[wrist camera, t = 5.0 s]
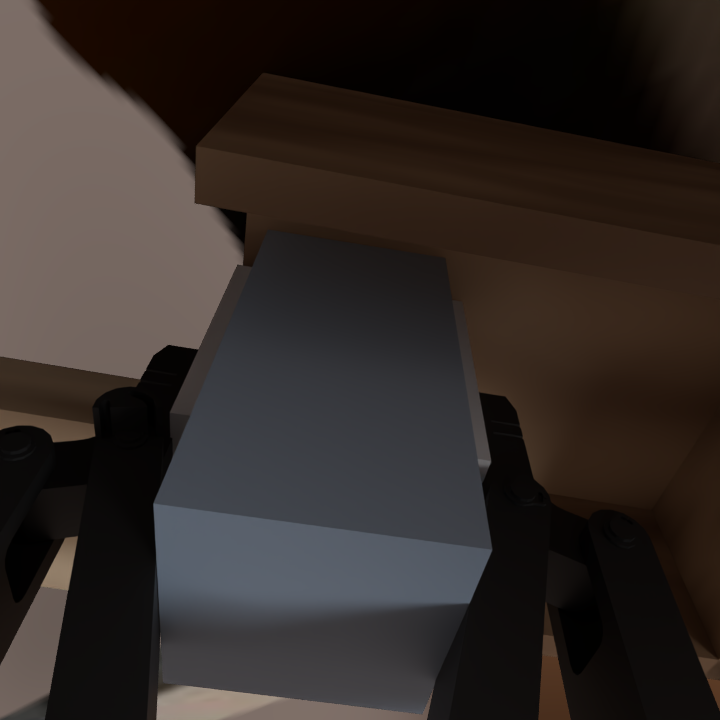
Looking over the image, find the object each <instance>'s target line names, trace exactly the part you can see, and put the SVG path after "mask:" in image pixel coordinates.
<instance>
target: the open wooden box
mask: <svg viewBox="0 0 720 720" xmlns="http://www.w3.org/2000/svg"><path fill="white" fill-rule="evenodd" d="M195 203H196V204H202V205H207V206H213V207H218V208H224V209H229V210H234V211H240V212H245V213H247V221H246V234H245V247H244V260H243V266H248V267H252V266H253V264H254V262H255V259H256V257H257V254H258V252H259V250H260V247H261V245H262V242H263V240H264V238H265V235H266V233H267V230H274V231H280V232H286V233H292V234H299V235H305V236H311V237H317V238H324V239H330V240H336V241H342V242H349V243H355V244H361V245H367V246H374V247H380V248H386V249H392V250H399V251H405V252H411V253H417V254H424V255H430V256H436V257H442V258H445V259H446V265H447V271H448V278H449V284H450V290H451V296H452V300H455V301H461V302H462V303H463V308H464V314H465V319H466V325H467V330H468V336H469V341H470V347H471V352H472V358H473V363H474V369H475V374H476V380H477V385H478V391H479V392H480V393H487V394H493V395H499V396H506V398H507V399H508V400H509V402H510V403H511V404H512V405H513V407H514V408H515V409H516V411H517V415H518V419H519V422H520V428H521V430H522V434H523V439H524V442H525V446H526V450H527V454H528V458H529V462H530V466H531V470H532V474H533V478H534V480H536V481H537V482H538V483H539V484H540V485H542V486H543V487H544V488H545V490H546V491H547V493H548V494H549V496H550V500H551V502H552V503H553V504H554V505H556V506H557V507H559V508H562V509H564V510H566V511H568V512H570V513H573V514H575V515H578V516H580V517H583V518H585V519H588V520H589V518H590V516H591V515H592V513H594V512H596V511H598V510H614V511H618V512H621V513H624V514H625V515H627V516H629V517H631V518H632V519H634V520H635V521H637V522H638V523H639V524H640V525H641V526H642V527H643V528H644V529H645V531H646V532H647V534H648V535H649V537H650V539H651V541H652V544H653V546H654V549H655V551H656V554H657V556H658V559H659V561H660V564H661V566H662V569H663V571H664V574H665V576H666V579H667V581H668V584H669V586H670V588H671V591H672V593H673V596H674V598H675V601H676V603H677V606H678V608H679V611H680V613H681V616H682V618H683V621H684V623H685V626H686V628H687V631H688V633H689V636H690V638H691V641H692V643H693V646H694V648H695V651H696V653H697V656H698V658H699V661H700V663H701V666H702V668H703V671H704V673H705V676H706V678H708V679H715V680H720V163H716V162H711V161H706V160H701V159H696V158H691V157H685V156H680V155H675V154H670V153H665V152H660V151H655V150H650V149H645V148H640V147H635V146H630V145H625V144H620V143H615V142H610V141H605V140H600V139H595V138H590V137H585V136H580V135H575V134H570V133H565V132H560V131H555V130H550V129H545V128H540V127H535V126H530V125H525V124H519V123H514V122H509V121H504V120H499V119H494V118H489V117H484V116H479V115H474V114H469V113H464V112H459V111H454V110H449V109H444V108H439V107H434V106H429V105H424V104H419V103H414V102H409V101H404V100H399V99H394V98H389V97H384V96H379V95H374V94H369V93H364V92H359V91H353V90H348V89H343V88H338V87H333V86H328V85H323V84H318V83H313V82H308V81H303V80H298V79H293V78H288V77H283V76H278V75H273V74H268V73H262V74H261V75H260V76H259V78H258V79H257V80H256V81H255V82H254V83H253V84H252V85H251V86H250V87H249V88H248V90H247V91H246V92H245V93H244V94H243V95H242V96H241V97H240V98H239V99H238V101H237V102H236V103H235V104H234V105H233V106H232V107H231V108H230V109H229V110H228V112H227V113H226V114H225V115H224V116H223V117H222V118H221V119H220V120H219V121H218V123H217V124H216V125H215V126H214V127H213V128H212V129H211V130H210V131H209V132H208V133H207V135H206V136H205V137H204V138H203V139H202V140H201V141H200V142H199V143H198V144H197V146H196V171H195ZM542 655H545V656H552V657H558V656H557V651H556V646H555V641H554V636H553V632H552V627H551V622H550V617H549V612H548V608H547V602H545V618H544V634H543V650H542Z"/></svg>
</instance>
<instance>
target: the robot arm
mask: <svg viewBox="0 0 720 720" xmlns="http://www.w3.org/2000/svg"><path fill="white" fill-rule="evenodd" d="M251 269H252V267H248V266H242V265H237V267H236V269H235V271H234V273H233V276H232V278H231V280H230V282H229V284H228V287H227V289H226V291H225V293H224V295H223V298H222V300H221V302H220V304H219V306H218V308H217V311H216V313H215V315H214V317H213V319H212V322H211V324H210V326H209V328H208V330H207V333H206V335H205V337H204V339H203V341H202V344H201V346H200V348H199V350H197V349H191V348H184V347H178V346H172V345H168V346H166V347H165V348H163V349H162V350H161V351H159V352H158V353H156V354H155V355H154V356H153V358H152V359H151V361H150V363H149V365H148V367H147V369H146V371H145V372H144V374H143V376H142V377H141V379H140V382H139V383H138V385H137V386H136V387H131V386H130V387H121V388H116V389H113V390H110V391H108V392H105V393H104V394H103V395H101V396H100V397H99V398H97V399H96V401H95V403H94V405H93V407H92V412H93V421H94V429H95V436H94V437H91V438H88V439H82V440H75V441H63V442H53V440H52V437H51V435H50V434H49V433H48V432H46V431H45V430H44V429H42V428H38V427H35V426H30V425H17V426H13V427H9V428H4V429H2V430H0V664H1V662H2V661H3V659H4V657H5V655H6V653H7V651H8V649H9V647H10V645H11V643H12V641H13V639H14V637H15V635H16V633H17V631H18V629H19V627H20V625H21V624H22V621H23V620H24V618H25V616H26V614H27V612H28V610H29V608H30V606H31V604H32V602H33V600H34V598H35V596H36V594H37V592H38V590H39V589H40V587H41V585H42V583H43V581H44V579H45V577H46V575H47V573H48V571H49V569H50V567H51V565H52V563H53V561H54V559H55V557H56V555H57V554H58V552H59V550H60V548H61V546H62V544H63V542H64V540H65V538H68V537H76V536H78V539H77V544H76V550H75V555H74V561H73V567H72V572H71V578H70V583H69V589H68V594H67V600H66V606H65V611H64V617H63V623H62V629H61V633H60V639H59V645H58V650H57V656H56V662H55V667H54V672H53V678H52V684H51V690H50V695H49V700H48V706H47V711H46V717H45V720H156V714H157V693H158V671H159V649H160V614H159V596H158V578H157V560H156V541H155V523H154V505H153V503H154V501H155V499H156V496H157V494H158V492H159V489H160V487H161V484H162V482H163V480H164V477H165V475H166V472H167V470H168V468H169V465H170V463H171V460H172V458H173V456H174V453H175V451H176V448H177V446H178V444H179V441H180V439H181V436H182V434H183V432H184V429H185V427H186V424H187V422H188V420H189V417H190V415H191V412H192V410H193V408H194V405H195V403H196V400H197V398H198V396H199V393H200V391H201V389H202V386H203V384H204V381H205V379H206V377H207V374H208V372H209V369H210V367H211V365H212V362H213V360H214V357H215V355H216V353H217V350H218V348H219V345H220V343H221V341H222V338H223V336H224V333H225V331H226V329H227V326H228V324H229V321H230V319H231V317H232V314H233V312H234V309H235V307H236V305H237V302H238V300H239V297H240V295H241V293H242V290H243V288H244V286H245V283H246V281H247V278H248V276H249V274H250V271H251ZM452 302H453V309H454V315H455V321H456V327H457V334H458V340H459V346H460V352H461V358H462V365H463V371H464V377H465V383H466V389H467V396H468V402H469V408H470V414H471V420H472V427H473V433H474V439H475V445H476V451H477V458H478V464H479V470H480V476H481V482H482V489H483V495H484V501H485V507H486V514H487V520H488V526H489V532H490V538H491V545H492V552H491V554H490V556H489V559H488V561H487V564H486V566H485V568H484V571H483V573H482V575H481V578H480V580H479V582H478V585H477V587H476V589H475V592H474V594H473V596H472V599H471V601H470V603H469V606H468V608H467V611H466V613H465V615H464V617H463V620H462V622H461V624H460V626H459V629H458V631H457V633H456V635H455V638H454V640H453V642H452V644H451V647H450V649H449V651H448V653H447V656H446V658H445V660H444V662H443V665H442V667H441V669H440V671H439V674H438V676H437V678H436V680H435V685H434V690H433V695H432V699H431V704H430V709H429V714H428V718H427V720H538V715H539V699H540V681H541V667H542V650H543V634H544V618H545V602H547V608H548V612H549V617H550V622H551V627H552V632H553V636H554V641H555V646H556V651H557V656H558V660H559V665H560V669H561V675H562V679H563V684H564V689H565V694H566V699H567V703H568V708H569V713H570V718H571V720H720V711H719V708H718V706H717V703H716V701H715V698H714V696H713V693H712V691H711V688H710V686H709V684H708V681H707V678H706V676H705V673H704V671H703V668H702V666H701V663H700V661H699V658H698V656H697V653H696V651H695V648H694V646H693V643H692V641H691V638H690V636H689V633H688V631H687V628H686V626H685V623H684V621H683V618H682V616H681V613H680V611H679V608H678V606H677V603H676V601H675V598H674V596H673V593H672V591H671V588H670V586H669V584H668V581H667V579H666V576H665V574H664V571H663V569H662V566H661V564H660V561H659V559H658V556H657V554H656V551H655V549H654V546H653V544H652V541H651V539H650V537H649V535H648V534H647V532H646V531H645V529H644V528H643V527H642V526H641V525H640V524H639V523H638V522H637V521H635V520H634V519H632V518H631V517H629V516H627V515H625V514H624V513H621V512H618V511H614V510H598V511H596V512H594V513H592V515H591V516H590V518H589V520H588V519H585V518H583V517H580V516H578V515H575V514H573V513H570V512H568V511H566V510H564V509H562V508H559V507H557V506H556V505H554V504H553V503H552V502H551V500H550V496H549V494H548V493H547V491H546V490H545V488H544V487H543V486H542V485H540V484H539V483H538V482H537V481H536V480H534V478H533V474H532V470H531V466H530V462H529V458H528V454H527V450H526V446H525V442H524V439H523V434H522V430H521V428H520V422H519V419H518V415H517V411H516V409H515V408H514V407H513V405H512V404H511V403H510V402H509V400H508V399H507V398H506V396H499V395H493V394H487V393H480V392H479V391H478V385H477V380H476V374H475V369H474V363H473V358H472V352H471V347H470V341H469V336H468V330H467V325H466V319H465V314H464V308H463V303H462V302H461V301H455V300H452Z"/></svg>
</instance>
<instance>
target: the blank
mask: <svg viewBox="0 0 720 720" xmlns="http://www.w3.org/2000/svg"><path fill="white" fill-rule="evenodd" d="M153 505H154V523H155V541H156V560H157V578H158V596H159V614H160V633H161V651H162V669H163V683H170V684H178V685H186V686H194V687H202V688H211V689H219V690H227V691H235V692H243V693H252V694H260V695H268V696H276V697H285V698H293V699H301V700H309V701H317V702H326V703H334V704H343V705H351V706H359V707H367V708H376V709H384V710H392V711H399V712H408V713H416V714H422V713H423V711H424V709H425V707H426V704H427V702H428V700H429V697H430V695H431V693H432V690H433V688H434V685H435V680H436V678H437V676H438V674H439V671H440V669H441V667H442V665H443V662H444V660H445V658H446V656H447V653H448V651H449V649H450V647H451V644H452V642H453V640H454V638H455V635H456V633H457V631H458V629H459V626H460V624H461V622H462V620H463V617H464V615H465V613H466V611H467V608H468V606H469V603H470V601H471V599H472V596H473V594H474V592H475V589H476V587H477V585H478V582H479V580H480V578H481V575H482V573H483V571H484V568H485V566H486V564H487V561H488V559H489V556H490V554H491V552H492V545H491V538H490V532H489V526H488V520H487V514H486V507H485V501H484V495H483V489H482V482H481V476H480V470H479V464H478V458H477V451H476V445H475V439H474V433H473V427H472V420H471V414H470V408H469V402H468V396H467V389H466V383H465V377H464V371H463V365H462V358H461V352H460V346H459V340H458V334H457V327H456V321H455V315H454V309H453V302H452V296H451V290H450V284H449V278H448V271H447V265H446V259H445V258H442V257H436V256H430V255H424V254H417V253H411V252H405V251H399V250H392V249H386V248H380V247H374V246H367V245H361V244H355V243H349V242H342V241H336V240H330V239H324V238H317V237H311V236H305V235H299V234H292V233H286V232H280V231H274V230H267V233H266V235H265V238H264V240H263V242H262V245H261V247H260V250H259V252H258V254H257V257H256V259H255V262H254V264H253V266H252V269H251V271H250V274H249V276H248V278H247V281H246V283H245V286H244V288H243V290H242V293H241V295H240V297H239V300H238V302H237V305H236V307H235V309H234V312H233V314H232V317H231V319H230V321H229V324H228V326H227V329H226V331H225V333H224V336H223V338H222V341H221V343H220V345H219V348H218V350H217V353H216V355H215V357H214V360H213V362H212V365H211V367H210V369H209V372H208V374H207V377H206V379H205V381H204V384H203V386H202V389H201V391H200V393H199V396H198V398H197V400H196V403H195V405H194V408H193V410H192V412H191V415H190V417H189V420H188V422H187V424H186V427H185V429H184V432H183V434H182V436H181V439H180V441H179V444H178V446H177V448H176V451H175V453H174V456H173V458H172V460H171V463H170V465H169V468H168V470H167V472H166V475H165V477H164V480H163V482H162V484H161V487H160V489H159V492H158V494H157V496H156V499H155V501H154V503H153Z"/></svg>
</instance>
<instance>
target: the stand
mask: <svg viewBox="0 0 720 720" xmlns="http://www.w3.org/2000/svg"><path fill="white" fill-rule="evenodd" d="M139 382H140V380H139V379H134V378H127V377H121V376H115V375H109V374H103V373H97V372H90V371H85V370H79V369H73V368H67V367H61V366H55V365H48V364H42V363H36V362H30V361H24V360H18V359H11V358H5V357H0V430H2V429H4V428H9V427H13V426H17V425H30V426H35V427H38V428H42V429H44V430H45V431H46V432H48V433H49V434H50V435H51V437H52V440H53V442H63V441H75V440H82V439H88V438H91V437H94V436H95V429H94V421H93V412H92V407H93V405H94V403H95V401H96V399H97V398H99V397H100V396H101V395H103V394H104V393H105V392H108V391H110V390H113V389H116V388H121V387H130V386H131V387H136V386H137V385H138V383H139ZM77 539H78V536H76V537H68V538H65V540H64V542H63V544H62V546H61V548H60V550H59V552H58V554H57V555H56V557H55V559H54V561H53V563H52V565H51V567H50V569H49V571H48V573H47V575H46V577H45V579H44V581H43V583H42V585H41V586H42V587H49V588H56V589H63V590H68V589H69V583H70V578H71V572H72V567H73V561H74V555H75V550H76V544H77Z"/></svg>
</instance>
